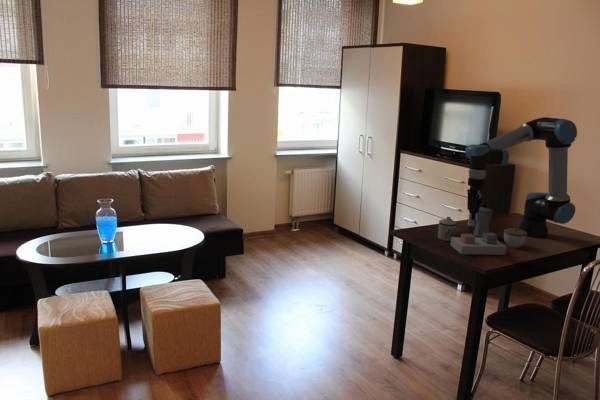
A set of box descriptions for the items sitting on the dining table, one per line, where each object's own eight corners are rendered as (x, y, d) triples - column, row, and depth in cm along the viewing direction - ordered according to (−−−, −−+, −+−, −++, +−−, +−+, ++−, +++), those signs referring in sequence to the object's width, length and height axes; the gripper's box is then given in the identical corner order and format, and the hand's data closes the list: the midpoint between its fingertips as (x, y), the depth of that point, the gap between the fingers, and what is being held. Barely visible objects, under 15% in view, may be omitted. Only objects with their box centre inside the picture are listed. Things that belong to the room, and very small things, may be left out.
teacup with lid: (445, 242, 267) (448, 220, 265) (433, 237, 275) (435, 215, 272) (463, 239, 273) (465, 218, 270) (450, 234, 281) (452, 213, 278)
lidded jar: (522, 250, 259) (525, 232, 257) (500, 246, 264) (502, 228, 262) (526, 245, 268) (529, 227, 266) (504, 241, 273) (507, 223, 271)
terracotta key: (470, 242, 259) (471, 233, 258) (474, 245, 254) (475, 236, 253) (460, 242, 258) (461, 233, 257) (464, 245, 253) (465, 236, 252)
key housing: (492, 245, 265) (493, 237, 264) (505, 254, 251) (506, 246, 251) (450, 244, 263) (451, 237, 262) (461, 254, 249) (462, 246, 248)
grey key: (491, 241, 260) (492, 232, 259) (496, 244, 255) (497, 235, 254) (482, 241, 259) (483, 232, 258) (486, 244, 254) (487, 235, 253)
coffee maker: (495, 238, 277) (500, 205, 273) (482, 239, 274) (486, 206, 270) (477, 230, 291) (481, 199, 287) (464, 231, 288) (467, 199, 284)
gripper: (463, 174, 255) (458, 221, 260) (474, 180, 242) (468, 229, 247) (478, 175, 255) (473, 222, 261) (490, 180, 243) (484, 229, 248)
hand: (471, 225), depth 254 cm, fingers closed
